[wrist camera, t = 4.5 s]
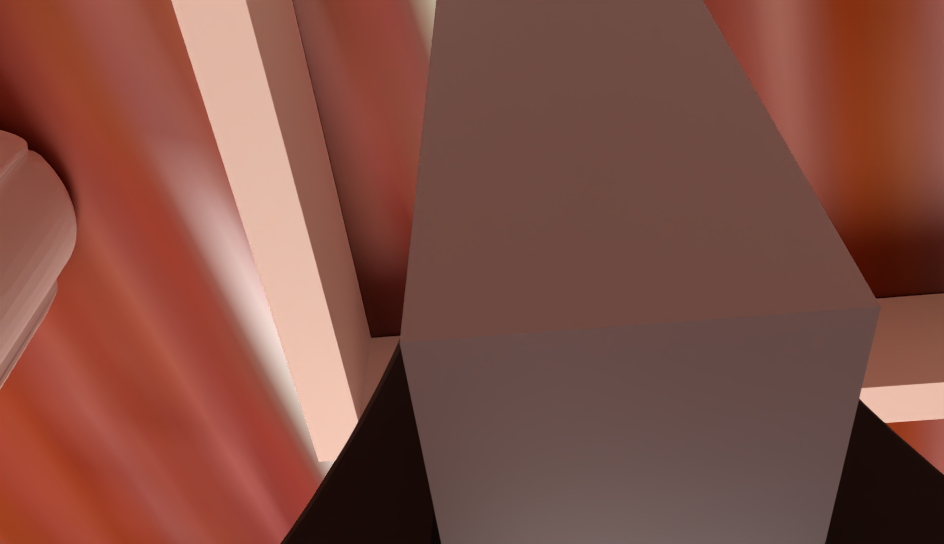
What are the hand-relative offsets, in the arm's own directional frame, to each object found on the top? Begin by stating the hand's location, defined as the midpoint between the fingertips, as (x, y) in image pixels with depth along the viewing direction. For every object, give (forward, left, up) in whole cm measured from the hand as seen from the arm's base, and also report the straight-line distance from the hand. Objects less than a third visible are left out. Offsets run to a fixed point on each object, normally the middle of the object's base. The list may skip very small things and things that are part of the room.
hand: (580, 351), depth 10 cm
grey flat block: (0, 0, -3) cm, 3 cm away
